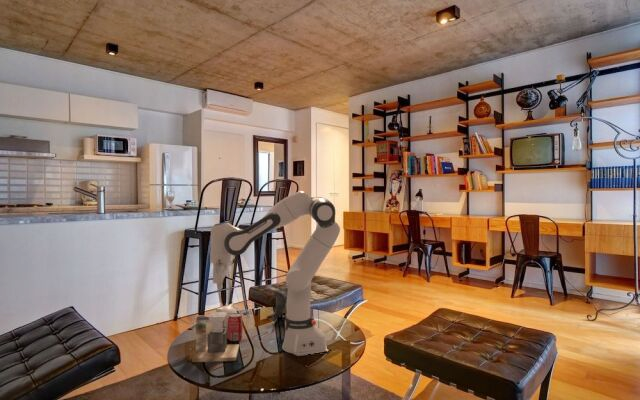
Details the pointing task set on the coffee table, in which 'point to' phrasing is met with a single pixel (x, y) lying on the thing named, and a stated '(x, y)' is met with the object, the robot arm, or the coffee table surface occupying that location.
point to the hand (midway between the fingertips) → (220, 289)
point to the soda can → (235, 327)
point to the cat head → (229, 310)
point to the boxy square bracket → (216, 321)
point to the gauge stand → (213, 345)
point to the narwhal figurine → (279, 302)
